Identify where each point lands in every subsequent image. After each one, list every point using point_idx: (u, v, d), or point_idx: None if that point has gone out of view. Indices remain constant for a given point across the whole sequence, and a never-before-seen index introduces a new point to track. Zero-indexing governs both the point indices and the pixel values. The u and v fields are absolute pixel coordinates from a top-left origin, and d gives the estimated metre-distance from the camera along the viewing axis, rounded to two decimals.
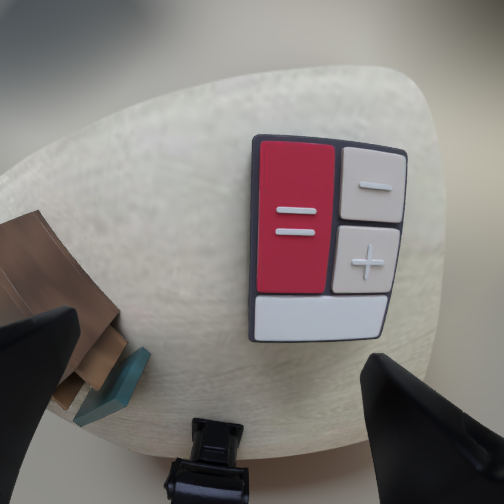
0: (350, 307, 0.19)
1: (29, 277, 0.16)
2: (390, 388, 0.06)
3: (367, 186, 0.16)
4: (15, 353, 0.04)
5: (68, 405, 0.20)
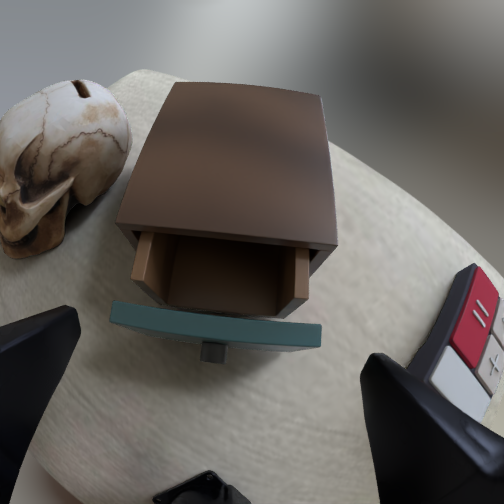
0: (477, 392, 0.16)
1: None
2: (390, 388, 0.06)
3: None
4: (15, 353, 0.04)
5: (146, 281, 0.14)
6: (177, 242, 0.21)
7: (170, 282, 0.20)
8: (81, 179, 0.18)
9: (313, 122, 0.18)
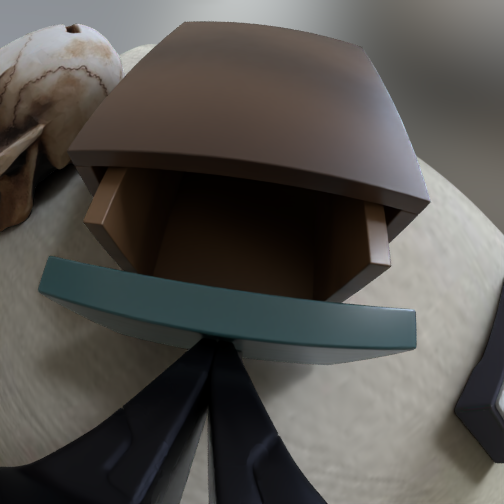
0: None
1: None
2: (210, 380, 0.05)
3: None
4: (190, 416, 0.04)
5: (109, 228, 0.08)
6: (172, 202, 0.14)
7: (157, 256, 0.13)
8: (53, 128, 0.12)
9: (360, 64, 0.11)
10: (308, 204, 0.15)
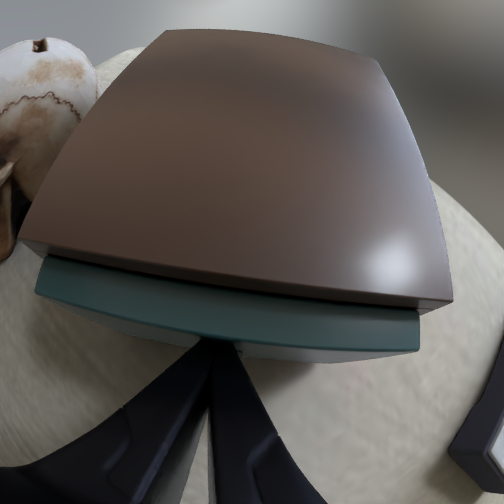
0: None
1: None
2: (210, 380, 0.05)
3: None
4: (190, 416, 0.04)
5: None
6: None
7: None
8: (23, 166, 0.10)
9: (376, 86, 0.10)
10: None
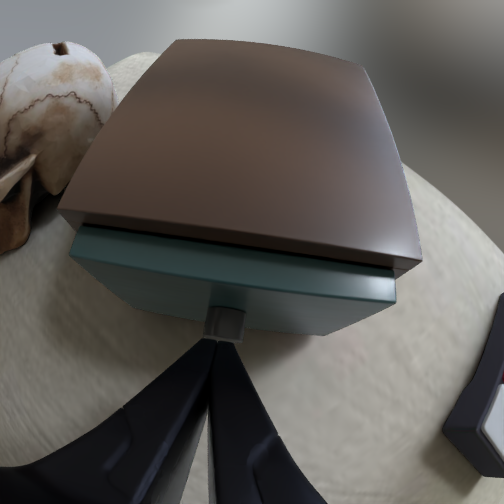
0: None
1: None
2: (210, 380, 0.05)
3: None
4: (190, 416, 0.04)
5: None
6: None
7: (168, 236, 0.15)
8: (45, 158, 0.12)
9: (361, 90, 0.12)
10: None
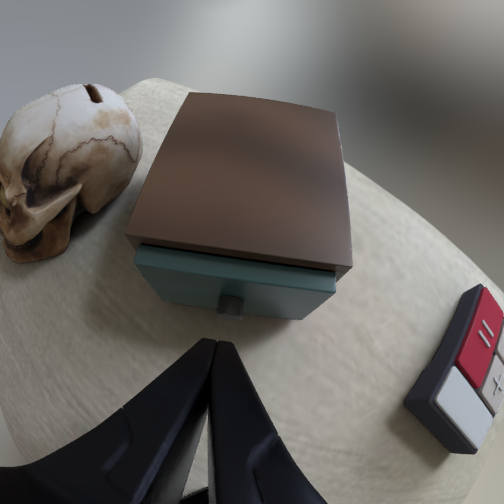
0: (480, 412, 0.14)
1: None
2: (210, 380, 0.05)
3: None
4: (190, 416, 0.04)
5: None
6: None
7: None
8: (89, 186, 0.18)
9: (328, 140, 0.18)
10: None
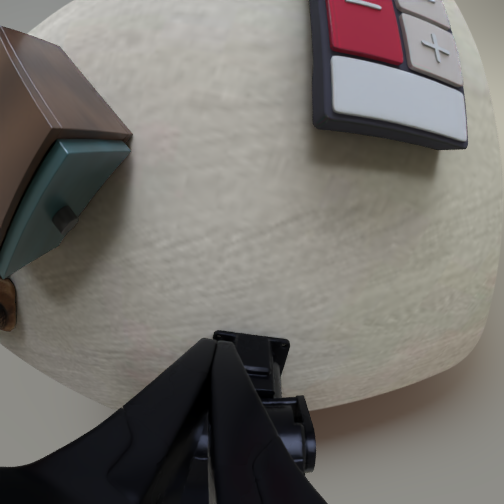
0: (432, 91, 0.12)
1: (36, 61, 0.09)
2: (210, 380, 0.05)
3: None
4: (190, 416, 0.04)
5: None
6: None
7: None
8: None
9: None
10: None
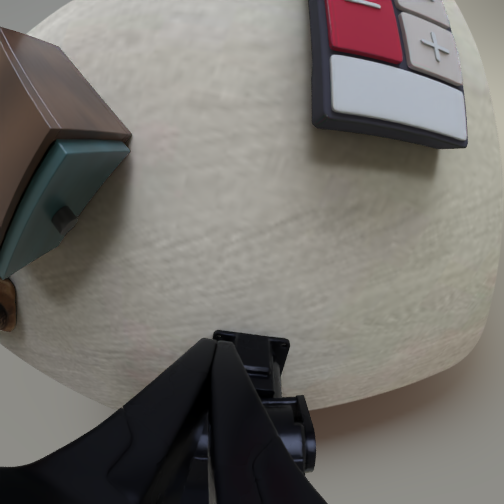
0: (432, 90, 0.12)
1: (35, 61, 0.09)
2: (210, 380, 0.05)
3: None
4: (190, 416, 0.04)
5: None
6: None
7: None
8: None
9: None
10: None
